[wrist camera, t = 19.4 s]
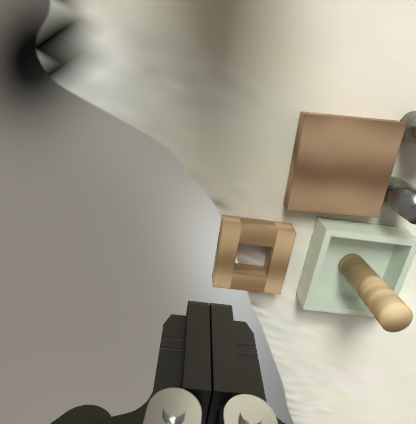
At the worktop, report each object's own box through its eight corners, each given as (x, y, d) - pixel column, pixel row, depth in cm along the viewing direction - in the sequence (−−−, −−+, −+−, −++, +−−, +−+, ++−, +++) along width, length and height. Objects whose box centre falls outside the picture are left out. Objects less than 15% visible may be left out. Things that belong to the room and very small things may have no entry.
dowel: (340, 253, 41) (383, 305, 32) (365, 253, 41) (416, 305, 32) (336, 275, 42) (378, 332, 33) (361, 275, 42) (409, 331, 33)
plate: (299, 111, 36) (305, 114, 34) (393, 119, 37) (406, 123, 34) (282, 201, 40) (287, 210, 38) (368, 208, 40) (378, 217, 38)
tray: (317, 217, 40) (326, 229, 37) (404, 228, 41) (420, 241, 38) (296, 292, 44) (303, 309, 41) (376, 301, 45) (388, 318, 42)
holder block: (222, 215, 40) (223, 224, 38) (291, 223, 40) (296, 233, 38) (212, 274, 43) (212, 286, 41) (276, 282, 43) (280, 294, 41)
